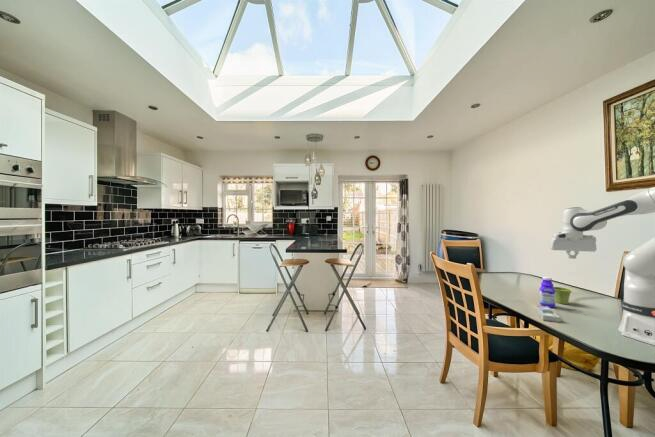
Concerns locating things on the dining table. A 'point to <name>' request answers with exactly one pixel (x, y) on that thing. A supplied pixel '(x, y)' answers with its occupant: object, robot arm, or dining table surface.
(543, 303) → the bottle
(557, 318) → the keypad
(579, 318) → the dining table surface
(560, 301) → the plant pot
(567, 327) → the dining table surface
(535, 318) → the dining table surface
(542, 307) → the key slate
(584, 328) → the dining table surface
